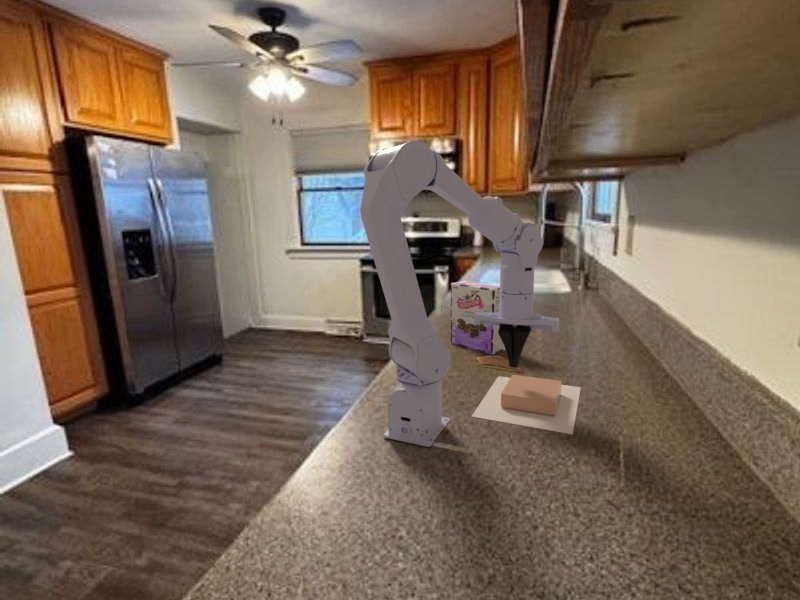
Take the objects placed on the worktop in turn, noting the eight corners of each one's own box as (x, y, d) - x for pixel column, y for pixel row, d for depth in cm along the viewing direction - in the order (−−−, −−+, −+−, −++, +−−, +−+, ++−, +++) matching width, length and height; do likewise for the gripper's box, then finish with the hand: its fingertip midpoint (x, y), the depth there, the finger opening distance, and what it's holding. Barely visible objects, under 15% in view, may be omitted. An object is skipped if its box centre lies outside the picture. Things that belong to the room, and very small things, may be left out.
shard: (524, 378, 95) (524, 370, 95) (490, 381, 94) (490, 373, 93) (503, 361, 105) (503, 354, 105) (472, 364, 104) (472, 356, 104)
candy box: (449, 343, 119) (449, 282, 115) (464, 339, 122) (464, 279, 119) (491, 355, 108) (493, 288, 105) (506, 350, 112) (508, 285, 109)
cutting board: (572, 437, 69) (572, 434, 69) (471, 419, 76) (471, 416, 76) (580, 390, 87) (580, 387, 87) (498, 378, 94) (498, 376, 93)
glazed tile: (500, 408, 79) (554, 416, 75) (501, 393, 78) (555, 402, 74) (512, 387, 87) (560, 394, 84) (512, 374, 87) (561, 381, 83)
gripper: (562, 290, 79) (558, 363, 82) (481, 285, 85) (480, 354, 88) (558, 297, 73) (554, 376, 75) (471, 292, 79) (470, 365, 82)
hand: (514, 365), depth 81 cm, fingers closed
